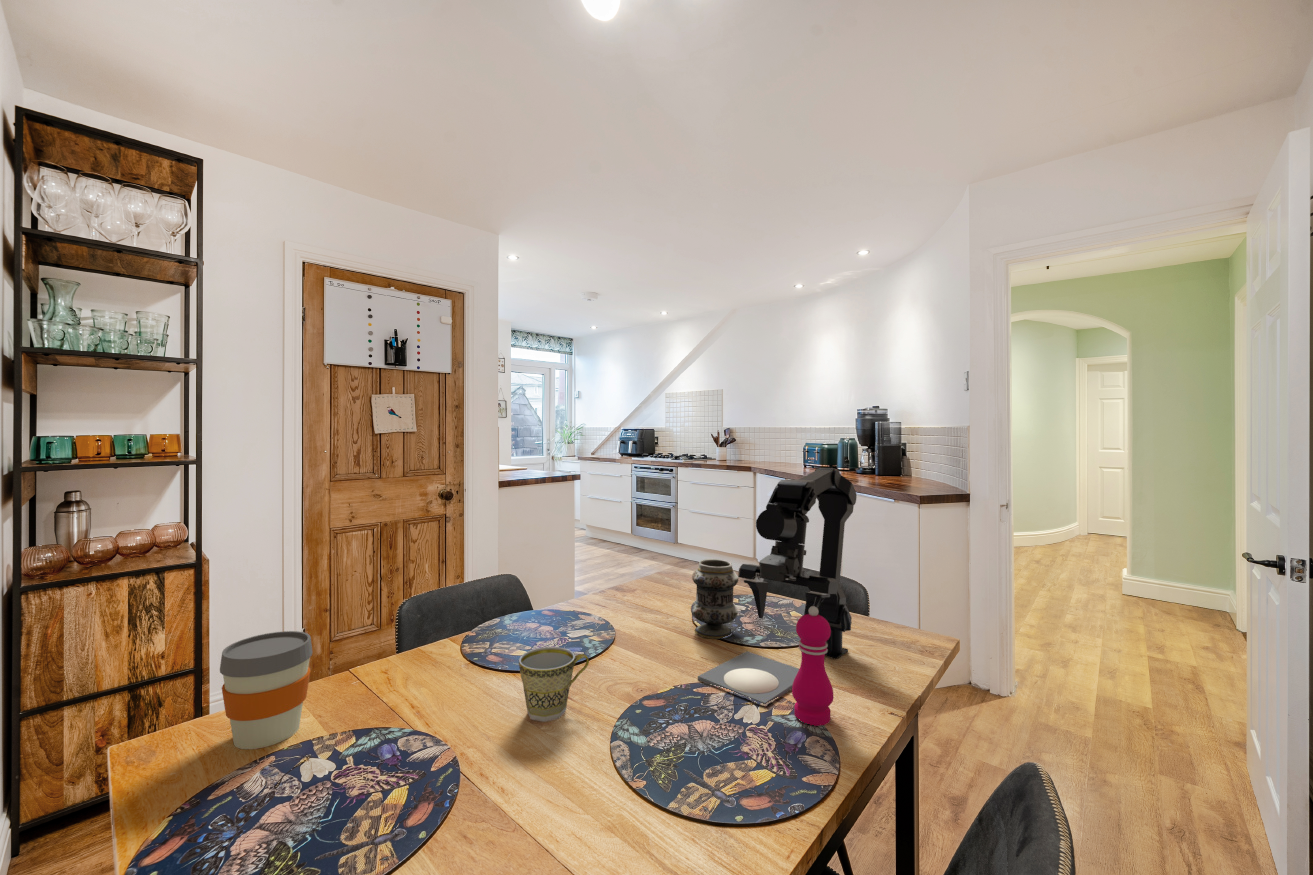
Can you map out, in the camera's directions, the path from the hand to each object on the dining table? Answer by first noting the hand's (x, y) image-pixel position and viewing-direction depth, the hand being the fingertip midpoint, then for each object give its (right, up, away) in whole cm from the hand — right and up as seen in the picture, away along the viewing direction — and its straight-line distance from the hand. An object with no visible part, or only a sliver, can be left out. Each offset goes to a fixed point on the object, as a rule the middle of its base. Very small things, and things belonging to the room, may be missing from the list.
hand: (782, 623), depth 105 cm
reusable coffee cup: (-90, -13, -15) cm, 92 cm away
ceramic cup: (-43, -14, -7) cm, 46 cm away
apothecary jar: (-10, -14, +33) cm, 37 cm away
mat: (-4, -14, +7) cm, 16 cm away
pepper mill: (+3, -14, -8) cm, 17 cm away
